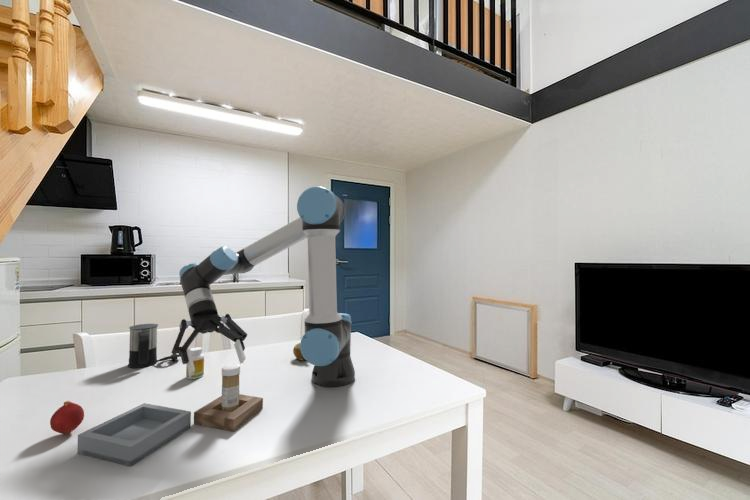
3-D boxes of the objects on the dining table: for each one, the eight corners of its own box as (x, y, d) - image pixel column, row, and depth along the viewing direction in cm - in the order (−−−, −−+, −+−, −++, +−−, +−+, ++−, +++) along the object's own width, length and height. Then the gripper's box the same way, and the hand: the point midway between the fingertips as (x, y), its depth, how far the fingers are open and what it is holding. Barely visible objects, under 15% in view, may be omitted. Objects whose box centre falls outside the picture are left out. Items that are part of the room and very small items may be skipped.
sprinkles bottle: (239, 410, 88) (240, 362, 88) (238, 418, 83) (239, 368, 84) (221, 413, 86) (222, 364, 86) (219, 421, 82) (220, 369, 82)
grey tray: (190, 427, 79) (190, 411, 79) (130, 466, 64) (131, 446, 64) (143, 418, 83) (144, 403, 83) (77, 453, 68) (77, 434, 68)
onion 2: (311, 355, 136) (312, 336, 136) (311, 361, 128) (311, 342, 128) (293, 356, 134) (294, 337, 134) (292, 362, 126) (292, 342, 127)
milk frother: (123, 364, 121) (125, 326, 121) (169, 354, 133) (170, 319, 134) (138, 373, 112) (139, 332, 112) (185, 361, 125) (186, 324, 125)
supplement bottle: (207, 373, 113) (207, 346, 113) (197, 379, 108) (197, 351, 108) (193, 373, 114) (193, 346, 114) (182, 379, 108) (183, 350, 108)
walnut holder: (262, 408, 89) (262, 397, 89) (233, 431, 78) (233, 419, 78) (226, 402, 92) (227, 392, 92) (193, 424, 81) (194, 412, 81)
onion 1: (65, 427, 78) (66, 395, 78) (90, 426, 78) (91, 394, 78) (42, 441, 72) (43, 406, 72) (69, 440, 72) (70, 406, 73)
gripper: (237, 308, 110) (256, 362, 99) (151, 318, 91) (164, 386, 81) (244, 295, 106) (265, 350, 96) (156, 302, 88) (170, 371, 77)
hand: (219, 366), depth 88 cm, fingers open, 13 cm apart
